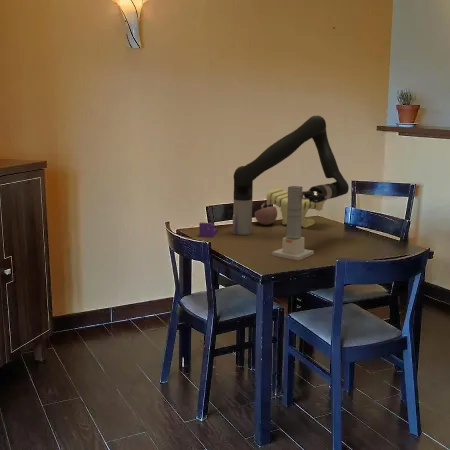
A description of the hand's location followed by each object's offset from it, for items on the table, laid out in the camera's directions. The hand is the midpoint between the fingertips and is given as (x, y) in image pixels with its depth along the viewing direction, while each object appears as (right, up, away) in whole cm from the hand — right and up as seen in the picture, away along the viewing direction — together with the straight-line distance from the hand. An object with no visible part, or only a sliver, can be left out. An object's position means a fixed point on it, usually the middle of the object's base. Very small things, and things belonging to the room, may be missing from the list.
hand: (301, 198), depth 248 cm
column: (-3, -17, -1) cm, 17 cm away
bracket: (-41, -16, +38) cm, 58 cm away
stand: (-4, -24, +1) cm, 25 cm away
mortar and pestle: (-11, -12, +59) cm, 61 cm away
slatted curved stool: (+6, -11, +60) cm, 62 cm away
